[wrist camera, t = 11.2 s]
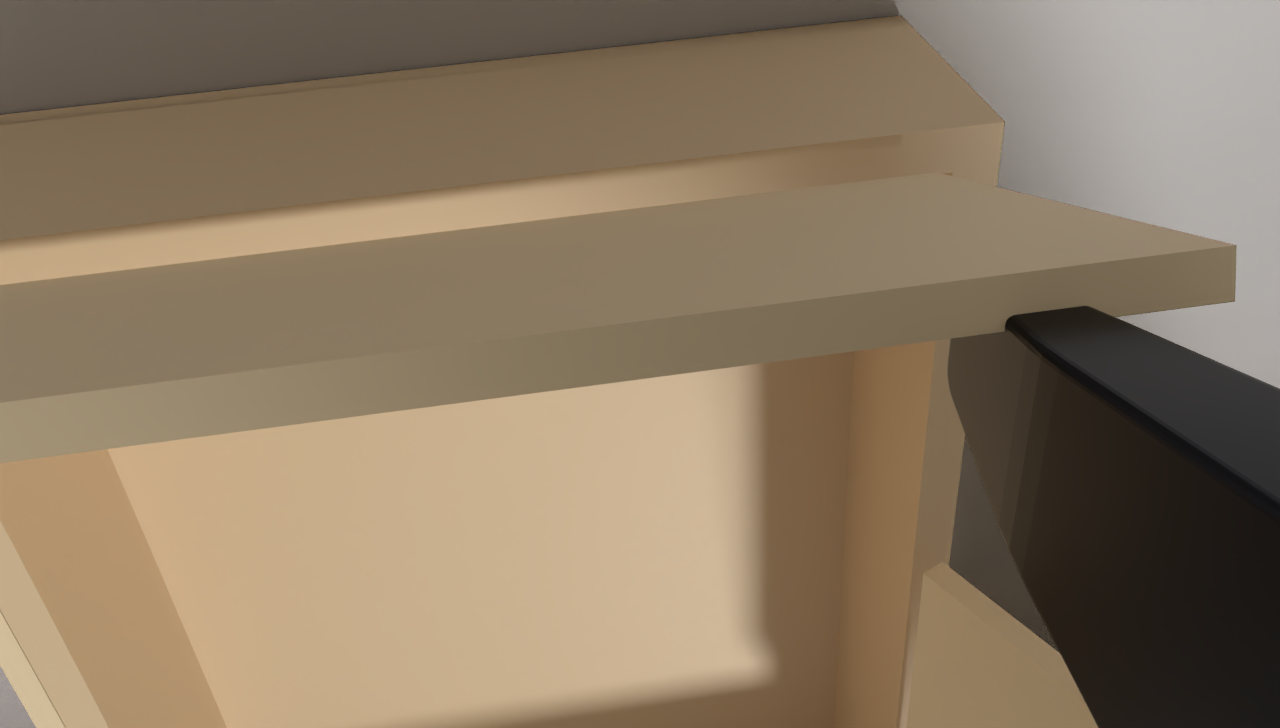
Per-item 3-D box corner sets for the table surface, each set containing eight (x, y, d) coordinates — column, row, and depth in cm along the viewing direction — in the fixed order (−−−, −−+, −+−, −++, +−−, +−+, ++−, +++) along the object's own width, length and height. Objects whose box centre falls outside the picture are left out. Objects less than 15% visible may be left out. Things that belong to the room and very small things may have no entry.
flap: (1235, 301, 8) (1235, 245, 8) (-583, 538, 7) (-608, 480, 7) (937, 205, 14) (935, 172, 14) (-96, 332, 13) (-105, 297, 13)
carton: (850, 768, 28) (903, 927, 25) (245, 862, 27) (217, 1042, 24) (901, 15, 17) (1004, 122, 14) (-98, 125, 16) (-235, 268, 13)
